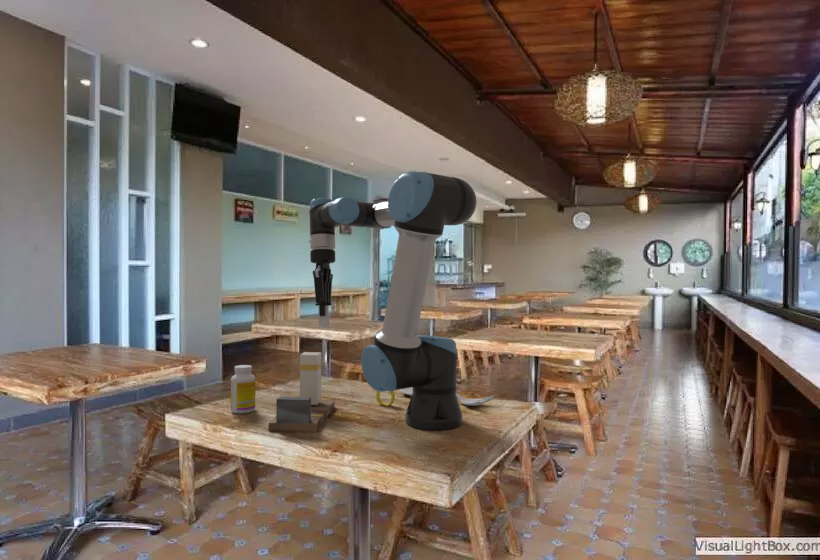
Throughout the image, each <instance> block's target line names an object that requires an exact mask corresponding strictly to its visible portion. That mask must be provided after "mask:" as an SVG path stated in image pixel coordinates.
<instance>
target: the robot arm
mask: <svg viewBox="0 0 820 560" xmlns="http://www.w3.org/2000/svg"><path fill="white" fill-rule="evenodd" d="M387 198H388V199H387V200H385V201H379V202H365V201H356V200H355V199H353V198H352V197H349V196H343V197H338V198H336V199H334V200H333V199H331V198H327V197H318V198H313V199H312V200H311V201H310V203H309V210H308V211H309V213H308V214H309V233H310V234H309V235H310V236H309V237H310V239H308V243H309V247H310V249H311V250H310V255H309V256H310V263H311V264H312V263H313V264H315V268H314V270H312V275H313V284H314V295H315V303H314V304H315V306H318V328H330V310H329V307H330V306H332V288H333V287H332V285H333V277H334V274H333V273H332V270H331V266H330V265H331V264H333V263H335V262H336V251H335V249H336V228H337V227H343V226H344V227H356V228H369V229H371V228H372V229H379V230H382V229H391V228H392V227H394V229H395V230H396V231H397V233H398V239H397V245H396V250H395V256H394V261H393V268H392V272H391V278H390V284H389V290H388V296H387V302H386V307H385V313H384V319H383V324H382V328H381V329H380V330H378V331H377V332H376V333H375V334H374V340H373V344H369V345H367V346H365V348H364V349H363V350H362V353H361V360H360V361H361V363H360V364H361V370H362V374H363V375H364V379H365V380H366V382H367V384H368V385H369V387H370V388H372V389H373V390H374V391H376V392H377V391H379V392H380V393H382V392H383V393H384V392H385V393H386V392H389V393H390V392H392V391H393V392H394V391H398V390H399V389H405V388H411V387H413V393H412V396H410V400H409V402H408V405H407V409H406V412H405V423H406V424H407V425H408V426H409V427H412V428H416V429H420V430H429V431H444V430H445V431H446V430H451V429H456V428H458V427H461V426H462V424H463V412H462V409H461V405H460V402H459V399H457V396H456V394H457V361H458V360H457V359H458V358H457V357H458V352H457V343H456V341H455V340H454V339H453V338H449V337H443V336H436V335H427V334H418V330H419V324H420V318H421V314H422V309H423V303H424V297H425V294H426V287H427V283H428V277H429V272H430V266H431V261H432V257H433V252H434V248H435V242H436V240H438V239H439V238H441V237H442V236H443V233H444V228H445V226H459V225H462V224H465V223H466V222H467V221H469V220H470V219H471V218H472V217H473V215H474V213H475V211H476V207H477V195H476V193H475V190H474V189H473V187H472V186H471V184H469V183H468V182H467V181H465V180H463V179H461V178H459V177H455V176H448V175H441V174H438V173H437V174H436V173H430V172H427V171H416V170H412V171H410V170H409V171H406V172H404V173H402V174H401V175H400V176H399V177H398V178H397V179H395V181H394V182H393V183H392V186H391V187H390V191H389V193H388V197H387ZM399 391H400V390H399Z"/></svg>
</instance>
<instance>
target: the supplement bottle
mask: <svg viewBox="0 0 820 560" xmlns="http://www.w3.org/2000/svg"><path fill="white" fill-rule="evenodd" d="M252 371H253V367H252V365H250V364H249V365H248V364H239V365H235V366H234V375H232V377H230V411H231V412H232V413H233V414H237V415H239V414H240V415H241V414H243V415H244V413H245V414H250V413H253V412H254V411H255V410H256V376H255V375H254V374H252Z"/></svg>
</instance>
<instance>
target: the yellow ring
mask: <svg viewBox="0 0 820 560" xmlns="http://www.w3.org/2000/svg"><path fill="white" fill-rule="evenodd" d="M380 393H381V392H379V391H376V395H375V398H376V401H377V403H378V404H379V405H380V406H386V407H390V406H392V405H393V404H394V402H395V399H396V397H395V395H396V394H395V392H394V391H392V392H390V391H389V394H390V395H391V400H390V403H384V402H383V401H382V399H381V396H380Z"/></svg>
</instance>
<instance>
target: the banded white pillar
mask: <svg viewBox="0 0 820 560" xmlns="http://www.w3.org/2000/svg"><path fill="white" fill-rule="evenodd" d="M322 358H323V357H322V352H317V351H316V352H315V351H314V352H313V351H311V352H310V351H303V352H302V353H301V354H299V366H298V367H299V397H311V405H318V403H319V402H320V401H321V400H322V367H323V361H322Z"/></svg>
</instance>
